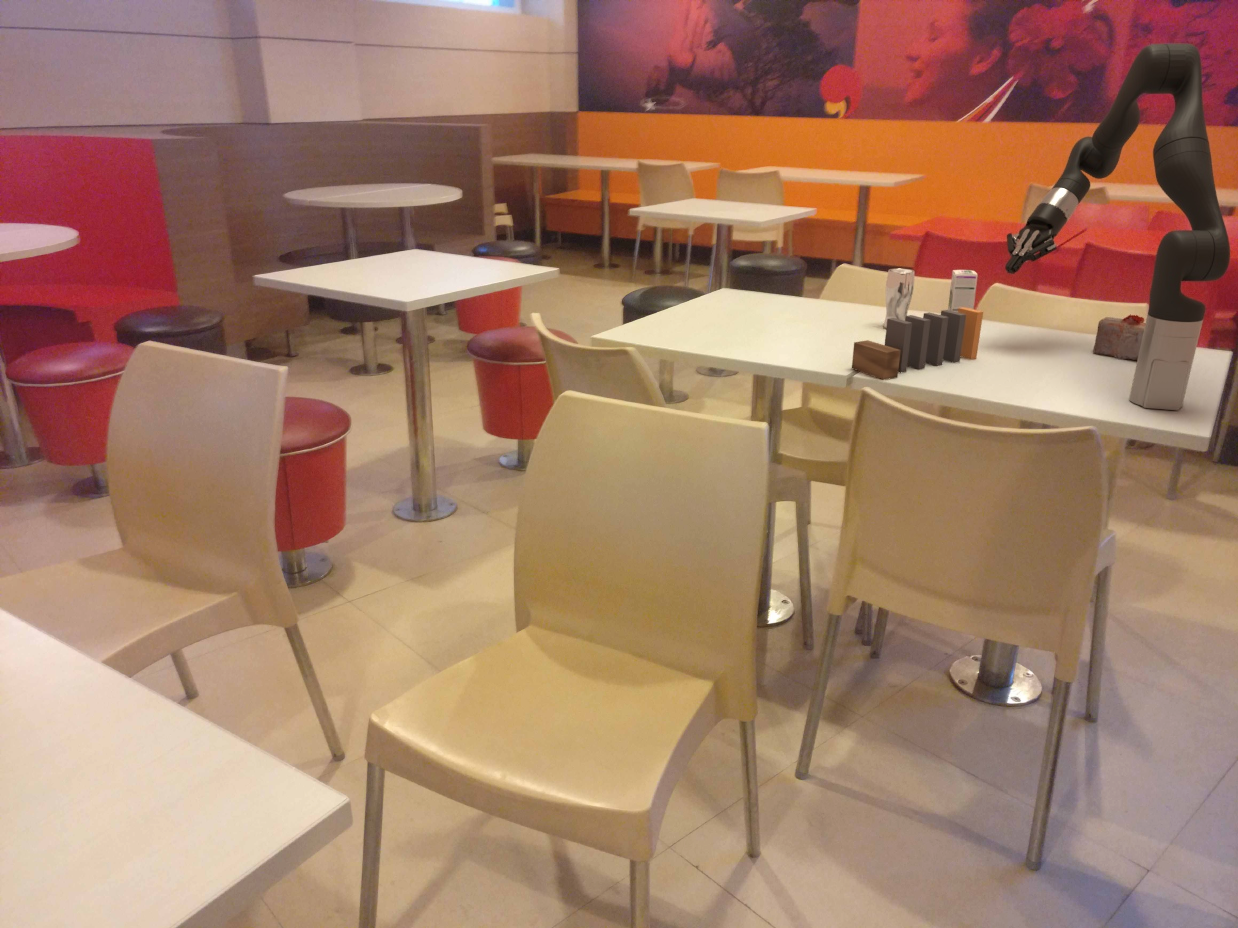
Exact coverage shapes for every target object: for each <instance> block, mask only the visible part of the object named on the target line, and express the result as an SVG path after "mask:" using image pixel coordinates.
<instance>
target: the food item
mask: <svg viewBox="0 0 1238 928" xmlns="http://www.w3.org/2000/svg"><path fill="white" fill-rule="evenodd" d="M1145 324H1146V322H1145V318H1144V317H1143V316H1140V315H1137V314H1128V315H1127V316H1126V317H1124V318H1118V317H1111V316H1106V317H1104V318H1102V319H1100V320H1099V321H1098V324H1097V330H1096V331H1097V332H1096V336H1095V340H1094V345H1093V349H1092V353H1093V354H1095V353H1096V355H1102V356H1108V357H1115V358H1116V359H1120V360H1133V361H1137V360H1138V355H1139V351H1140V346H1141V342H1142V337H1143V333H1144V328H1145Z"/></svg>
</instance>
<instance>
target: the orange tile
mask: <svg viewBox="0 0 1238 928" xmlns="http://www.w3.org/2000/svg"><path fill="white" fill-rule="evenodd" d="M958 313H962V314H966V320H965V327H964V334H963V341H962V348H961V355H960V358H964V359H968V360H975V359H977V356H978V350H979V342H980V337H981V330H982V323H983V317H984V311H982V310H979V309H975V308H974V309H970V308H965V307H962V308H958Z"/></svg>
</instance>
